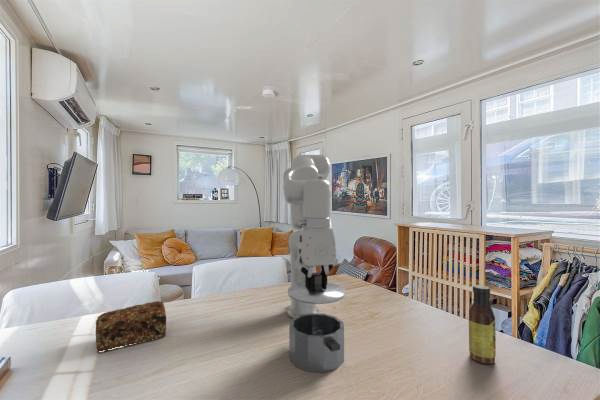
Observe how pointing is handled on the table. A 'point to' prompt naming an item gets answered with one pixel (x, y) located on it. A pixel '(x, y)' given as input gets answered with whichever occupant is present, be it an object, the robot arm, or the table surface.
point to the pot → (316, 342)
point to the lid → (316, 292)
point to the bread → (130, 325)
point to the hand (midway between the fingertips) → (316, 288)
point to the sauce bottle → (482, 327)
